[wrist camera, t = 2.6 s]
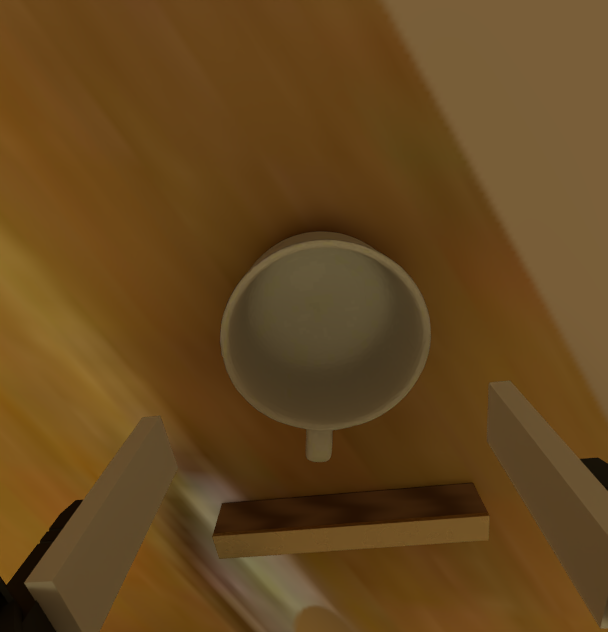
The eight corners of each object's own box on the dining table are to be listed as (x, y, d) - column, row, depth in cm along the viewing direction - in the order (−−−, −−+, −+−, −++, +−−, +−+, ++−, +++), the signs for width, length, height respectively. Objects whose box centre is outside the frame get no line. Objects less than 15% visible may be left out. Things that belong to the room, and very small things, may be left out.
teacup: (261, 203, 24) (236, 217, 17) (422, 241, 25) (467, 270, 17) (230, 384, 29) (200, 457, 22) (365, 412, 30) (380, 493, 22)
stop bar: (228, 524, 34) (219, 558, 31) (222, 503, 34) (212, 536, 30) (472, 505, 33) (488, 540, 29) (472, 482, 32) (489, 515, 29)
